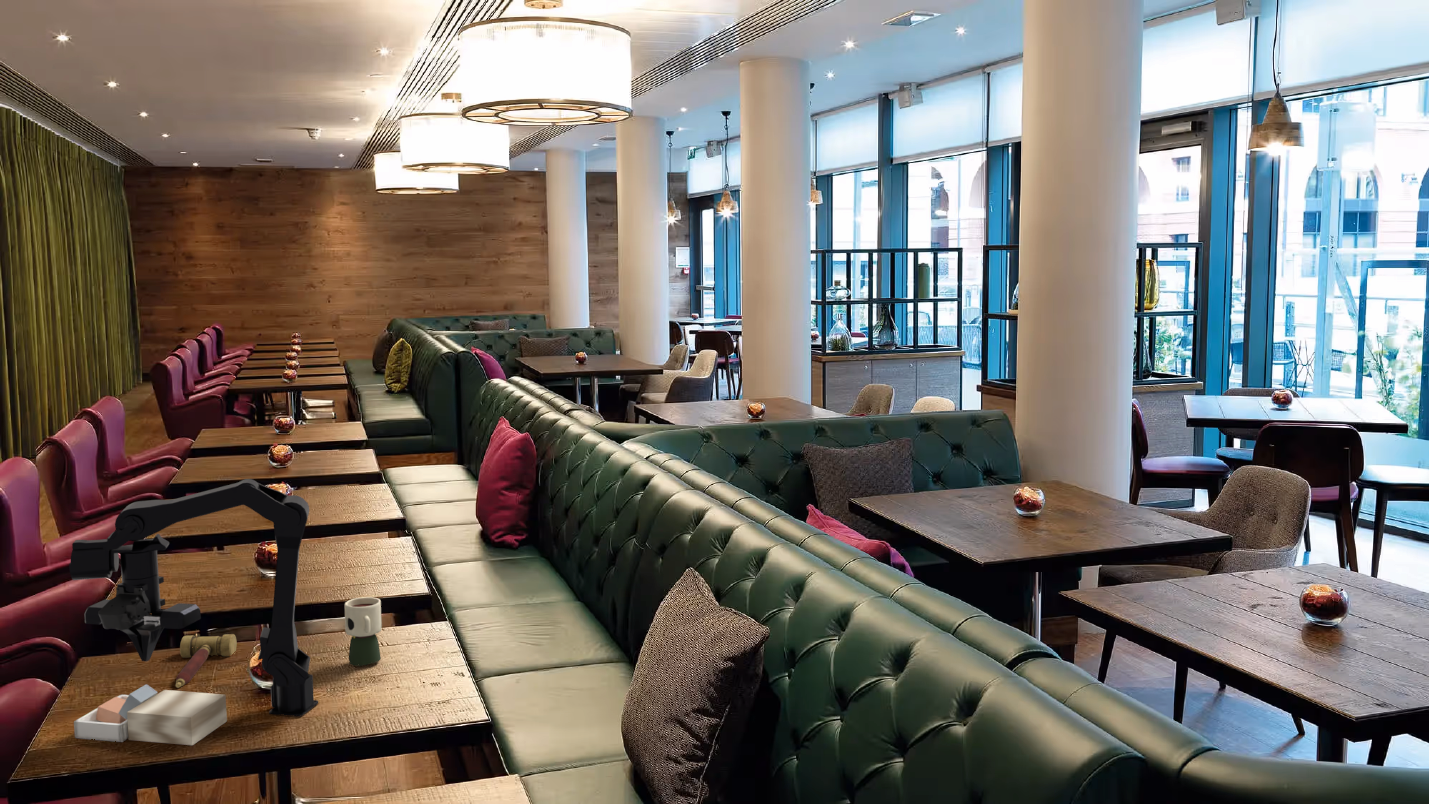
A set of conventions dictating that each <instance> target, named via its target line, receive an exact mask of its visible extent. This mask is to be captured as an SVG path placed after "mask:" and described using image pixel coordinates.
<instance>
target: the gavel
mask: <svg viewBox="0 0 1429 804" xmlns="http://www.w3.org/2000/svg"><path fill="white" fill-rule="evenodd" d="M237 645H238V643H237V637H236V635H235V634H234V633H231V634H228V633H227V634H226V633H225V634H223V635H222V636H219V635H217V636H212V635H211V636H197V637H196V636H195V635H184V636H183V637H182V638H181V641H180V645H179V653H180V656H181V658H183V659H185V658H187V659H188V658H190V659H189V660H188V661H187V663H185V665H184V667H182V669H181V671H180V672H179V673H178V674H177V676H176V677H175V688H177V689H179V688H181V687H183V686H185V685H187V684H189V683H190V681H191V680H192V679H193V678H194V676H195V675H196V674H197V672H198V671H199V670H200V668H201V667H202V666H203V664H204V663H206V661H207V659H208V658H209V656H208V655H211V656H210V657H214V656H213V655H218V656H220V655H221V657H230V656H229V655H232V654H233V653H234V652H235V651H237ZM192 647H193V648H192ZM197 647H198V648H197ZM235 653H236V652H235ZM235 653H234V654H235ZM192 656H193V657H192Z"/></svg>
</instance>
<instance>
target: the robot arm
mask: <svg viewBox="0 0 1429 804" xmlns="http://www.w3.org/2000/svg"><path fill="white" fill-rule="evenodd" d="M239 506H245V507H247V508H249V509H251V510H252V511H254V512H255V513H256V514H258V515H260V516H261V517H263V518H264V519H266V520H268V521H269V522H271V523H273V530H274V531H273V532H274V539H275V543H276V544H275V545H276V549H277V551H276V552H277V555H276V566H275V567H276V568H275V578H274V579H275V580H274V589H273V590H274V591H273V592H274V593H273V605H272V617H271V625H270V627H265V626H264V627H262V630H261V633H260V637H259V645H260V650H259V654H258V656H257V661H260V660H261V666H262V670H263V671H265V672H266V673H267V674H268V675H270V676H272V685H270V700H271V707H272V708H271V709H270V710H269V711H268V714H269V715H275V716H287V717H289V716H290V717H303V716H304V715H305V714H307V713H308V712H310V710H312V709H313V708H314V707H316V706H317V705H318V704H319V700H317V699H316V700H315V699H314V698H315V697H314V677H313V674H310V673H309V669H310V663H311V657H310V656H309V655H308V654H307V653H305V652H304V651H303V650H301V649H300V648H299V645H298V636H297V629H296V625H295V609H296V607H295V606H296V595H297V584H298V583H297V582H298V572H299V558H300V548H301V543H302V540H303V536H304V533H305V528H306V526H307V521H308V518H309V515H310V505H309V503H308V502H307V500H305V499H304V498H303V497H301V496H299V495H295V494H292V495H291V494H290V495H287V494H286V493H283V492H282V491H280V490H277V489H273V488H271V487H270V486H266V485H264V484H261V483H259V482H257V481H256V480H254V479H251V478H245V479H242V480H240V481H239V482H238V481H237V482H236V483H231V484H229V485H228V484H227V485H223V486H220V487H215V488H212V489H208V490H204V491H201V492H198V493H197V492H196V493H193V494H189V495H186V496H182V497H178V498H173V499H151V500H139V501H134V502H132V503H130V504H128V505H126V506H125V508H124V509H123V510H122V511H121V512H120V513H119V514H118V515H117V516H116V518H115V522H114V527H115V530H114V531H112V532H111V533H110V535H109V536H108V537H107V538H106V539H105V538H104V539H89V540H88V539H76V540H74V541H73V542H72V544H71V545H72V546H71V547H72V549H71V553H70V563H69V565H68V566H69V568H68V569H69V575H70V577H71V579H72V581H83V580H95V579H98V580H99V579H110V578H111V577H112V575H113V572H118V569H119V567H120V571H121V572H120V573H121V582H120V583H118V584H116V588H115V589H116V590H115V591H116V594H115V597H112V598H111V599H103V600H101V601H99V602H97V603H96V602H95V603H94V604H92V605H90V606H88V607H87V608H86V610H85V612H84V623H85V624H86V625H102V627H103V628H104V629H105V630H110V629H113V630H117V631H119V630H120V631H121V632H123V633H124V634H126V635H127V636H128V638H129V639H130V641H131V642H132V644H133V647H134V648H135V650H136V652H137V654H138V656H139V659H140V660H141V661H142V662H148V661H150V660H151V658H152V656H153V653H154V651H155V648H156V645H157V643H158V641H159V639H160V636H161V634H162V632H163V631H164V629H172V630H182V629H184V628H186V627H188V626H190V625H192V624H193V623H195V622H198V621H200V620H201V619H202V614H201V608H200V607H199V606H198V604H195V603H182V602H181V603H180V602H179V603H176V604H174V605H172V606H170V607H168V608H162V607H163V606H165V605H166V599H165V598H161V592H160V591H161V590H160V584H161V585H162V584H163V583H164V582H165V577H164V576H159V560H158V551H165V550H166V549H167V548H168V547H169V545H170V541H168V540H166V539H165V538H163V537H162V536H161V535H160V534H159V532H160V531H161V532H162V530H164V529H166V528H168V527H171V526H173V525H174V524H177V523H180V522H183V521H186V520H187V521H188V520H191V519H195V518H200V517H203V516H206V515H210V514H214V513H218V512H221V511H225V510H229V509H233V508H236V507H237V508H238V507H239ZM154 534H156V535H155V536H154V537H153V538H151V539H146V538H147V537H150V536H153V535H154ZM128 542H133V544H127V543H128ZM125 544H126V545H125ZM119 556H120V558H119Z"/></svg>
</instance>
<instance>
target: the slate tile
mask: <svg viewBox="0 0 1429 804" xmlns="http://www.w3.org/2000/svg"><path fill="white" fill-rule="evenodd" d="M157 694H158V691H157V690H155V689H154V688H153V687H151V686H150V685H149V684H144V685H143V686H141V687H139V688H138V689H136V690H134V691H133V692H131V693H129V694H128V695H129V696H128V698H127V699H126V701H125V703H124V704H123V706H122V708H121V710H120V711H119V713H118V714H120V715H121V716H122V717H124V718H125V719H126V720H127V712H128V711H130V710H132V709H133V708H135V707H137V706H138V705H140V704H142V703H143V702H145V701H147V700H148V699H150V698H152V697H153V696H155V695H157Z"/></svg>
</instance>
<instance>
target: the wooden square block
mask: <svg viewBox="0 0 1429 804" xmlns="http://www.w3.org/2000/svg"><path fill="white" fill-rule="evenodd" d="M226 699H227V697H226V694H223V693H222V694H220V693H208V692H195V691H185V690H183V691H182V690H172V689H169V690H168V689H164V690H162V691H160V692H159V693H157V694H156V695H155V696H153V697H152V698H150V699H148V700H147V701H145V702H143V703H142V704H140V705H138V706H137V707H135V708H133V709H132V710H130V711H128V712H127V720H128V736H129V738H128V741H138V742H139V741H140V742H149V743H162V744H172V745H173V744H175V745H183V746H184V745H185V746H186V745H187V746H194V745H195V744H196V743H198V742H199V741H201V740H203V739H204V738H205V737H206V736H209V735H210V734H211V733H212V732H214V731H216V729H218V728H219V727H221V726H222V725H224V724H225V723H226V722H227V721H228V717H227V716H228V715H227V714H228V713H227V700H226Z"/></svg>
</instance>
